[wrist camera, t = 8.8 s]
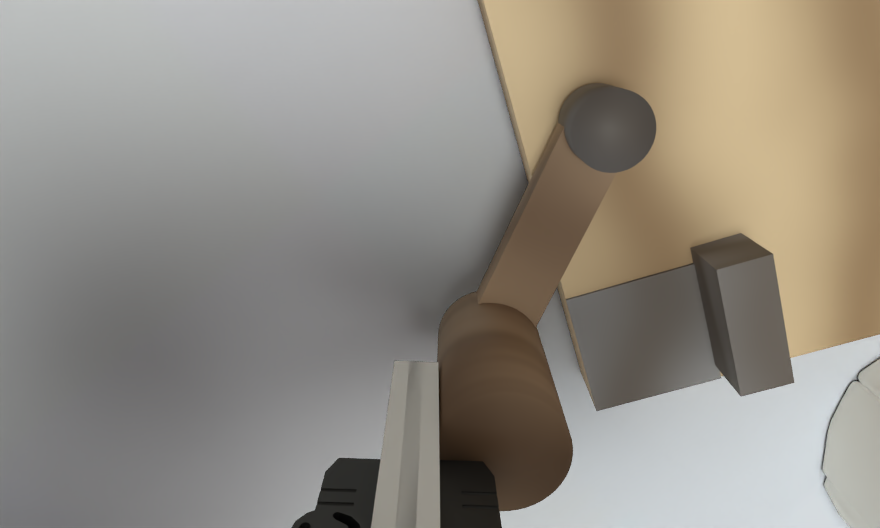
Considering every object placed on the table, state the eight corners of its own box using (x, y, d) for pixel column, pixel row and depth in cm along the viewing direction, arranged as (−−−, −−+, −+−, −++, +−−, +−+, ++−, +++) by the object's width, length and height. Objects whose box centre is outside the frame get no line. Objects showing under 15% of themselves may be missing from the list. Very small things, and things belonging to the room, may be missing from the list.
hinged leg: (510, 393, 21) (535, 528, 15) (422, 359, 20) (413, 483, 15) (661, 108, 18) (762, 140, 12) (561, 62, 17) (617, 73, 12)
